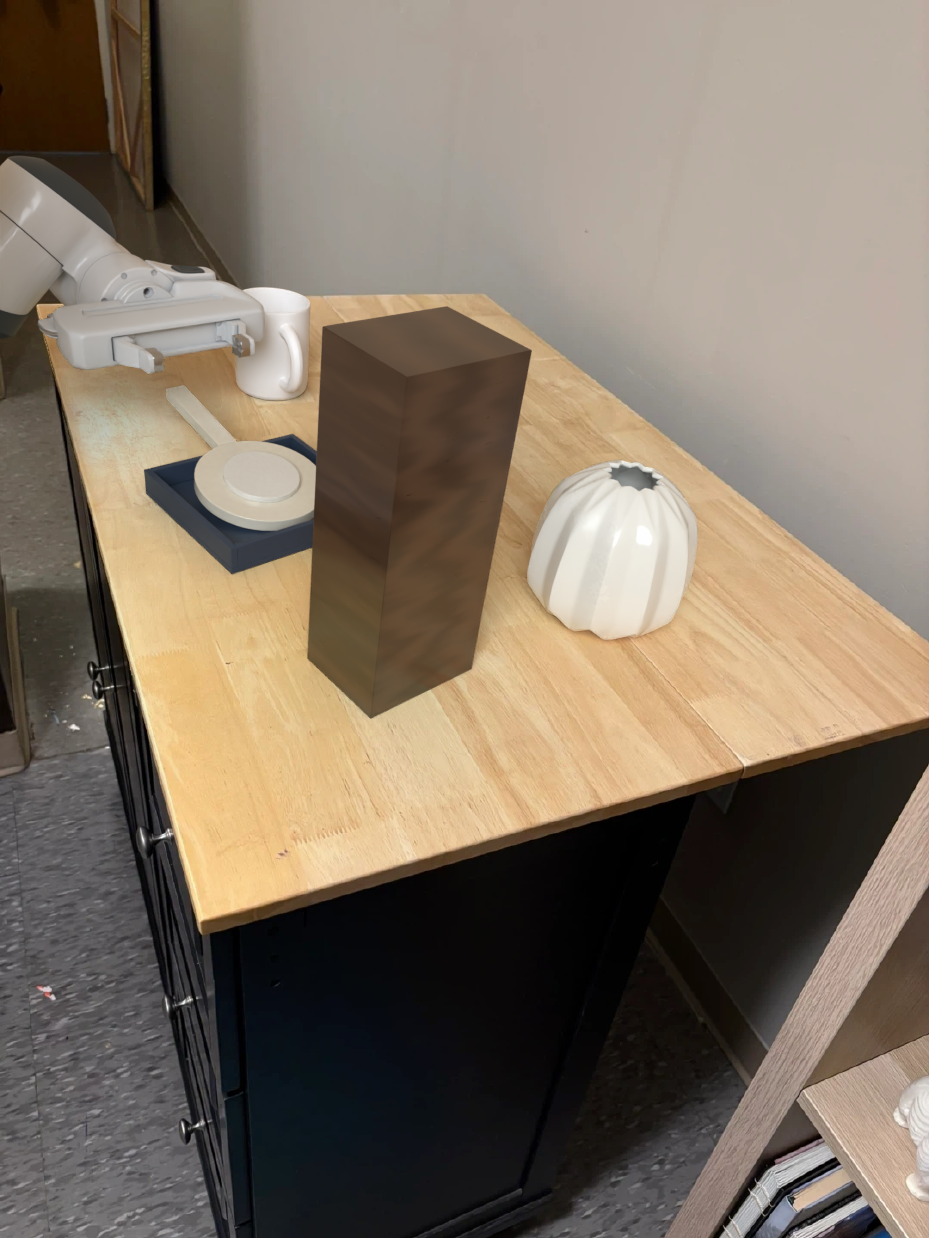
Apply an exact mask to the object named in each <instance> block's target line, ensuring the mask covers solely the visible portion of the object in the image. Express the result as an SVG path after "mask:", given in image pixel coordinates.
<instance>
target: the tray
mask: <svg viewBox="0 0 929 1238" xmlns="http://www.w3.org/2000/svg"><path fill="white" fill-rule="evenodd" d="M260 441H261V442H268V443H273V444H277V445H281V446H284V447H286V448H289V449H292V450H294V451H296V452H298V453H300V454H301V455H303V456H305V457H306V458H307V459H309V460H310V461H311V462H312V463H313V464H314V465H315V466H316V457H317V449H315V448H313V447H312V446H311V445H309V444H308V443H307V442H305V441H304V440H302V438H300V437H298V436H297V435H296V434H294V433H290V434H285V435H281V436H278V437H272V438H270V439H264V440H260ZM203 455H204V454H202V455H199V456H194V457H191V458H185V459H182V460H177V461H174V462H173V461H172V462H170V463H169V462H168V463H166V464H165V463H164V464H160V465H157V466H152V467H149V468H145V469H143V473H144V474H143V475H144V487H145V494H146V496H148V497H149V498H150V499H151V500H152V501H153V502H154V503H155V504H156V505H157V506H158V507H159V508H160V509H162V511H164V512H165V513H166V514H167V515H168V516H169V517H170V518H171V519H172V520H173V521H174V522H175V523H176V524H178V525H179V527H181V529H183V530H184V531H185V532H186V533H187V534H188V535H189V536H190V537H191V538H192V539H193V540H195V541H196V542H197V543H198V544H199V546H201V547H202V548H203V549H204V550H205V551H206V552H207V553H208V554H210V556H211V557H212V558H214V559H215V560H216V561H217V562H218V563H219V564H220V565H221V566H222V567H223V568H224V569H225V570H227V571H228V572H229V573H230V574H231V575H234V574H237V573H240V572H244V571H246V570H249V569H252V568H255V567H258V566H261V565H264V564H267V563H270V562H274V561H276V560H279V559H282V558H284V557H289V556H291V555H293V554H297V553H300V552H303V551H307V550H309V549H312V544H313V522H314V518H313V519H311V520H309V521H306V522H303V523H299V524H296V525H293V526H290V527H287V528H283V529H280V530H277V531H261V530H252V529H247V528H243V527H239V526H236V525H233V524H231V523H228V522H226V521H224V520H222V519H220V518H218V517H217V516H215V515H214V514H212V513H211V512H210V511H209V510H207V509H206V508H205V507H204V506H203V504H202V503H201V502H200V500H199V499H198V497H197V495H196V493H195V489H194V472H195V467H196V465H197V463H198V461H199V460H200V458H201V457H202V456H203Z"/></svg>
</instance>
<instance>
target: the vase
mask: <svg viewBox="0 0 929 1238" xmlns="http://www.w3.org/2000/svg"><path fill="white" fill-rule="evenodd" d="M698 526H699V525H698V521H697V517H696V512H695V511H694V509H692V507H691V505H690V503H689V502H688V501H687V499H686V498H685V495H684V494H683V492H682V491H681V490H680V489H679V487H678V486H677V485H676V484H675V483H674V482H673V481H672V480H670V479H669V478H668V477H667V476H666V475H665V474H664V473H662V472H661V471H660V470H659V469H657V468H654V467H651V466H646V465H645V464H643V463H642V462H639V461H631V462H630V461H627V460H623V459H613V460H609V461H604V462H598V463H597V462H596V463H593V464H591V465H589V466H586V467H585V468H583V469H581V470H578V471H577V472H574V473H572V474H570V475H568V476H567V477H564V478H562V480H561V481H560V482H559V483H558V484H557V485H556V486H555V488H553V490H552V492H551V493H550V495H549V497H548V498H547V501H546V502H545V505H544V507H543V509H542V512H541V514H540V516H539V518H538V520H537V523H536V527H535V530H534V531H533V536H532V541H531V546H530V557H529V561H528V566H527V571H526V575H527V576H526V577H527V578H526V579H527V580H526V581H527V582H526V583H527V585H528V586H529V588H530V589H531V591H532V592H533V594H534V596H535V597H536V598H537V600H538V602H539V603H540V605H541V606H542V607H543V609H544V610H545V611H546V612H547V614H550V615H551V616H554V617H556V618H557V619H558V620H559V621H560V622H561V623H562V624H563V625H564V626H565V627H566V628H568V629H569V630H570V631H572V632H582V631H590V632H591V633H593V634H595V635H596V636H597V637H598V638H600V639H601V640H603V641H611V640H617V639H622V638H626V637H627V638H632V639H636V638H639V637H643V636H644V635H647V634H649V633H651V632H654V631H656V630H658V629H660V628H663V627H665V626H667V625H670V624H671V622H672V621H673V619H674V617H675V615H676V614H677V612H678V609H679V606H680V603H681V601H682V600H683V598H684V597H685V594H686V592H687V590H688V589H689V585H690V584H691V581H692V577H693V574H694V569H695V563H696V559H697V551H698V544H699V543H698V542H699V540H698V538H699V527H698Z"/></svg>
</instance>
